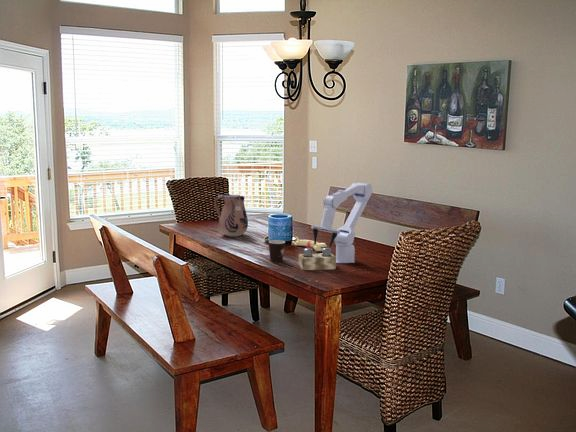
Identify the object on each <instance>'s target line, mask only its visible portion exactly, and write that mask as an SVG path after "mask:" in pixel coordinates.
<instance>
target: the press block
mask: <svg viewBox="0 0 576 432" xmlns="http://www.w3.org/2000/svg"><path fill="white" fill-rule="evenodd" d="M298 266H300V267H301V268H300V267H299V268H300V269H301V270H302V271H316V270H319V271H321V270H323V271H324V270H336V268H337V262H336V255H334V254H333V253H332V252H331V257H323V256H322V253H321V252H320V253H313V256H312V257H304V253H298Z"/></svg>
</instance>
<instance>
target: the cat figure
mask: <svg viewBox="0 0 576 432" xmlns="http://www.w3.org/2000/svg"><path fill="white" fill-rule="evenodd" d="M298 236H299V232H295V233H294V238H295V239H296V241H295V240H292V241H291V246H299V247H300V246H303V247H304V246H306V248H312V249H313V250H315V252H322V248H329V245H328V246H327V244H326V243H325V242H319V240H317V239H316V244H314V240H310V239H300V238H299V237H298Z"/></svg>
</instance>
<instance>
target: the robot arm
mask: <svg viewBox="0 0 576 432" xmlns="http://www.w3.org/2000/svg"><path fill="white" fill-rule="evenodd" d="M372 193H373V187H372V184H370V183H363V182H358V181H355V182H353V183H351V185H350V186H349V187H347V188H346V189H344V190H343V189H338V190H337V191H336V192H335V193H334V192H333V193H332V194H331V195H329V194H328V195H326V196H325V197H324V198H323V212H322V213H323V214H322V218H321V222H320V225H319V226H318V225H314V224H311V229H312V231H313V238H314V240H313V241H314V244H316V242H317V241H316V240H317V237H318V233H319V231H320V232H326V233H329V234H330V233H331V237H330V243H329V245H328V248H331V249H332V245H333V243H334V244H335V245H336V246H335V257H336V264H351V263H352V264H354V263H356V261H355V255H356V253H355V251H356V249H355V245H354V244H353V243H354V241H355V237H356V233H355V231H354V229H355V228H356V225H357V223H358V222H359V221H360V218H361V216H362V214H363V212H364V210H365V209H366V206H367V204H368V201H370V200H369V199H371V196H372ZM352 195H353V198H354V200H355V204H354V205H353V207H352V208H351V211H350V213H349V215H348V216H347V219H346V221H345V223H344V225H342V226H340V227H338V228H337V229H334V228H333V224H334V219H335V215H336V209H337V208H339V206H340V204H341V203H343V202H345V201H346V200H347V199H348V197H349V196H352Z"/></svg>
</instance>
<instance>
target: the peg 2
mask: <svg viewBox="0 0 576 432" xmlns="http://www.w3.org/2000/svg"><path fill="white" fill-rule="evenodd" d="M321 252H322V256H323V257H331V253H332V247H331V248H330V247H328V248H322V251H321Z"/></svg>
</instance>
